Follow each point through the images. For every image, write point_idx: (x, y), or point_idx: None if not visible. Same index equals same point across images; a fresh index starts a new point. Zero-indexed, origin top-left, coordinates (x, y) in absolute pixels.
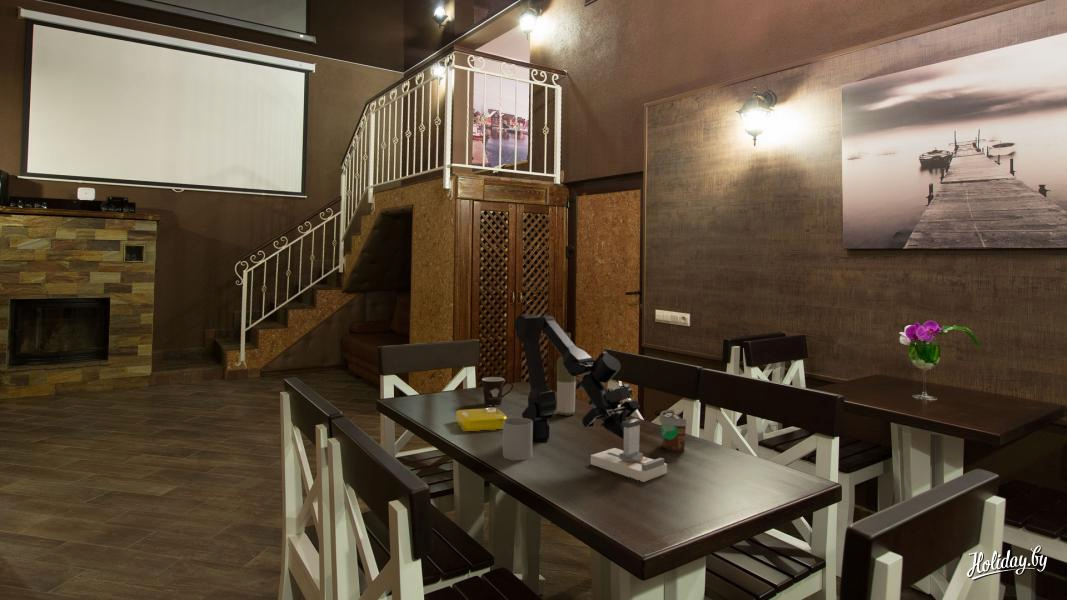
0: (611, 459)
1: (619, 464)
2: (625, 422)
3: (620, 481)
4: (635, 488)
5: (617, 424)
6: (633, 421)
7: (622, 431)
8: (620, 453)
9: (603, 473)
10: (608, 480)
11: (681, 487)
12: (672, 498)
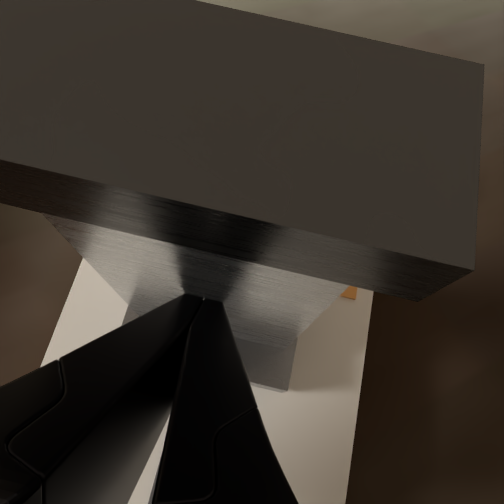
0: (301, 464)
1: (365, 345)
2: (460, 157)
3: (454, 288)
4: (481, 180)
5: (287, 494)
6: (245, 44)
7: (240, 374)
8: (273, 387)
9: (411, 454)
10: (494, 356)
11: (313, 25)
12: (459, 19)
